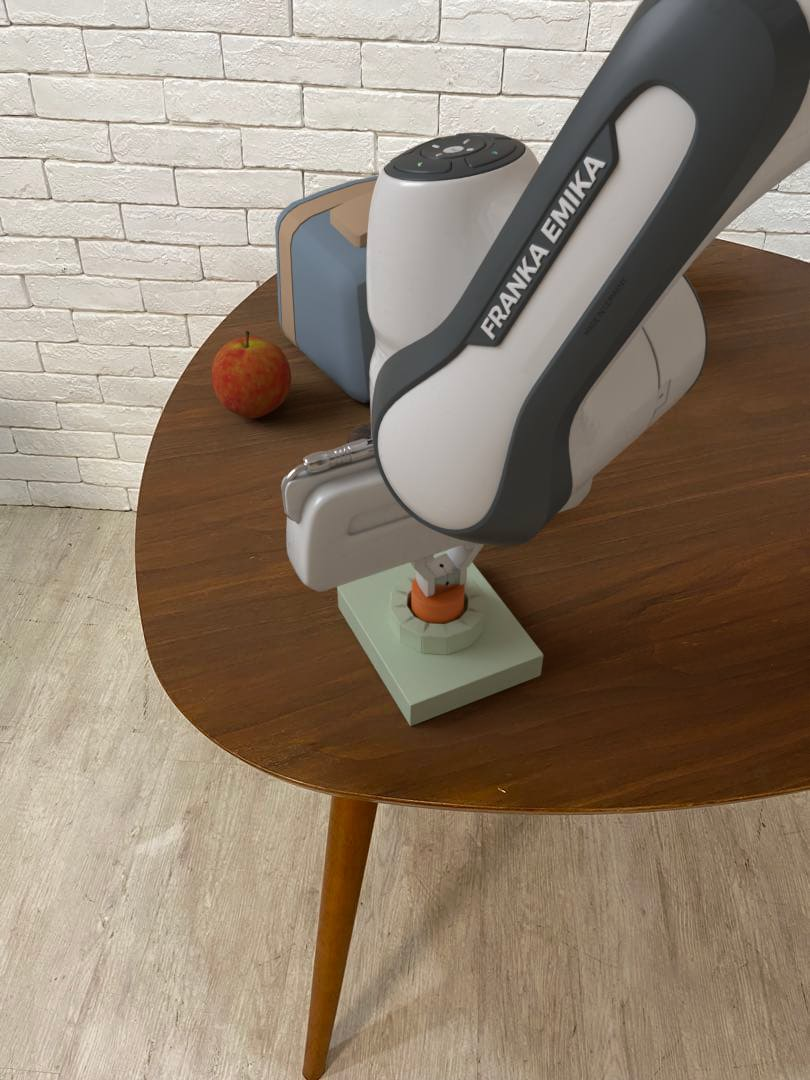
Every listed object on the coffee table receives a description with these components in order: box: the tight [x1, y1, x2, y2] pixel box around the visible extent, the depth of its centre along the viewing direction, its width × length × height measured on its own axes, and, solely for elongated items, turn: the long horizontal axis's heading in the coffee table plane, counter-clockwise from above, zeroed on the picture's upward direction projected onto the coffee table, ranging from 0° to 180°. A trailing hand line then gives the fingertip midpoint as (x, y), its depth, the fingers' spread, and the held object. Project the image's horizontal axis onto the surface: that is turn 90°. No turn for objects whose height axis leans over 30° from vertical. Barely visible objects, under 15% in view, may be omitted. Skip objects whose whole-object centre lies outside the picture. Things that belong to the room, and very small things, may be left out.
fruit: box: [211, 330, 292, 419], centre depth 92 cm, size 7×7×8 cm
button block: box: [336, 550, 544, 727], centre depth 73 cm, size 12×10×4 cm
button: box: [411, 578, 465, 624], centre depth 71 cm, size 4×4×2 cm
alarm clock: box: [274, 175, 379, 404], centre depth 97 cm, size 16×16×16 cm
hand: (441, 584), depth 71 cm, fingers closed
